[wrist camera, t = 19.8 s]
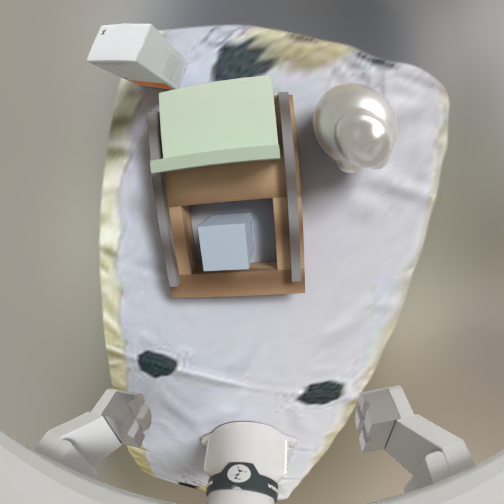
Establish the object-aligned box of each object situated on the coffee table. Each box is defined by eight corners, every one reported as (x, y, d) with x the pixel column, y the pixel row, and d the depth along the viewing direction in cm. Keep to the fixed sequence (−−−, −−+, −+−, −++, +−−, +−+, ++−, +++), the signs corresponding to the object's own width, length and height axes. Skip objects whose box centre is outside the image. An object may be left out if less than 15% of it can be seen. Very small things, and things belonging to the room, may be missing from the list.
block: (253, 248, 34) (248, 269, 27) (217, 250, 34) (203, 271, 28) (250, 211, 33) (244, 223, 26) (213, 214, 33) (197, 226, 26)
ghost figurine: (293, 149, 30) (301, 141, 21) (326, 82, 27) (345, 51, 18) (361, 185, 31) (395, 194, 21) (391, 119, 28) (432, 105, 18)
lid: (279, 159, 27) (280, 157, 23) (167, 171, 29) (151, 173, 24) (271, 77, 25) (270, 64, 21) (161, 94, 26) (145, 85, 22)
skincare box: (137, 86, 29) (83, 61, 17) (148, 58, 27) (100, 24, 16) (179, 92, 29) (134, 62, 17) (190, 62, 28) (152, 21, 16)
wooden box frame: (302, 282, 35) (305, 297, 31) (179, 288, 36) (169, 302, 32) (290, 100, 28) (293, 91, 24) (157, 118, 30) (143, 113, 26)
